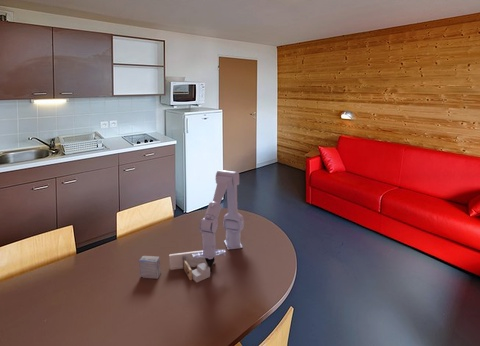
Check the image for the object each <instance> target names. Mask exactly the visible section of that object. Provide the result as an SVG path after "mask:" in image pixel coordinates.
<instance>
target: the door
mask: <svg viewBox="0 0 480 346" xmlns="http://www.w3.org/2000/svg"><path fill="white" fill-rule="evenodd" d="M183 270H184V272H185V274H186V275H187V277H188V279H189V281H192V280H193V279H192V270H193V269H192V267H190V266H189V264H188V263H187V261H186V260H184V269H183Z"/></svg>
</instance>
